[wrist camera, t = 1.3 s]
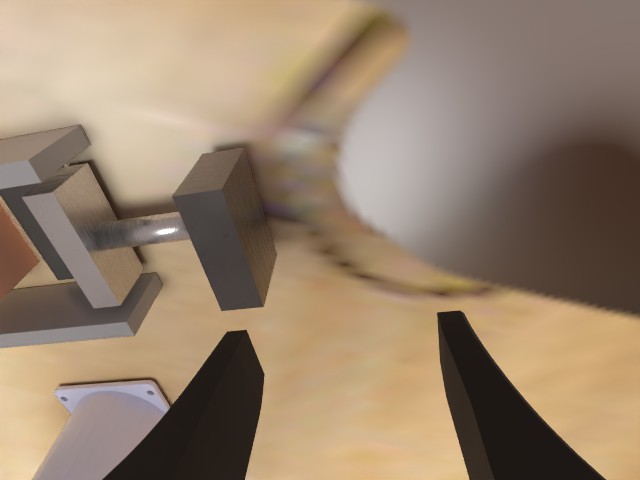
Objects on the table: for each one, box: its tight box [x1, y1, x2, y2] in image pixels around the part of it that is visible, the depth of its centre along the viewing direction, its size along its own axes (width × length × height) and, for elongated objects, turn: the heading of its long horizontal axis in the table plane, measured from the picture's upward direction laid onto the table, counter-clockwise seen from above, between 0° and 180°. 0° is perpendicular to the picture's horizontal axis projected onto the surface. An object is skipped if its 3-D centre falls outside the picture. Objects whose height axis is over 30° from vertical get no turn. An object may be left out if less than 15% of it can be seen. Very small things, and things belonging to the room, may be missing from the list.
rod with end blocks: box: [22, 147, 277, 311], centre depth 20 cm, size 7×10×4 cm
